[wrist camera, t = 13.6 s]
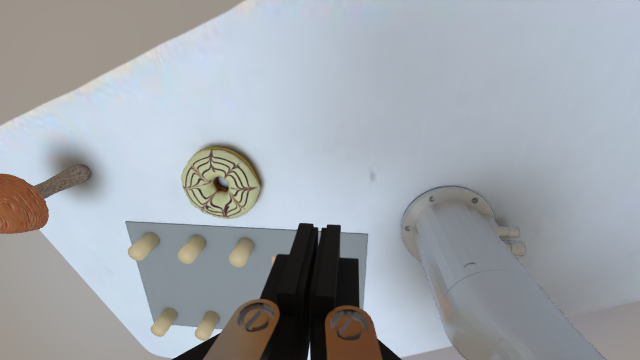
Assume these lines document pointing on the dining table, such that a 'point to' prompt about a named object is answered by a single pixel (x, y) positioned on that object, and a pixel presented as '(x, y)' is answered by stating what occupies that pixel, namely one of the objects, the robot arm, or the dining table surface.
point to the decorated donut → (209, 194)
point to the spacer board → (213, 269)
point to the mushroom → (32, 199)
